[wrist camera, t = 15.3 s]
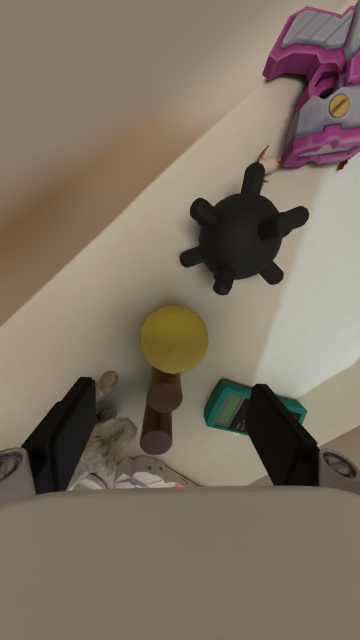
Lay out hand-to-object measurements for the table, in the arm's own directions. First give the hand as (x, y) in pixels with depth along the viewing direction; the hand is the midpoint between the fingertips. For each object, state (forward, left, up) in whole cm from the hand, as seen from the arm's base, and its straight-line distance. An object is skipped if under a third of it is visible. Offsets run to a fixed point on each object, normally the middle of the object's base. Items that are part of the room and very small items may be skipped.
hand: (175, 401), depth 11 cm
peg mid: (-5, 0, -15) cm, 16 cm away
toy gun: (+24, -7, -14) cm, 28 cm away
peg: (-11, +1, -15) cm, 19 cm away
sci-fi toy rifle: (-25, +6, -13) cm, 28 cm away
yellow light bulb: (+1, 0, -15) cm, 15 cm away
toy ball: (+10, -6, -15) cm, 19 cm away
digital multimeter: (-13, -14, -15) cm, 24 cm away
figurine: (-13, +10, -15) cm, 22 cm away
